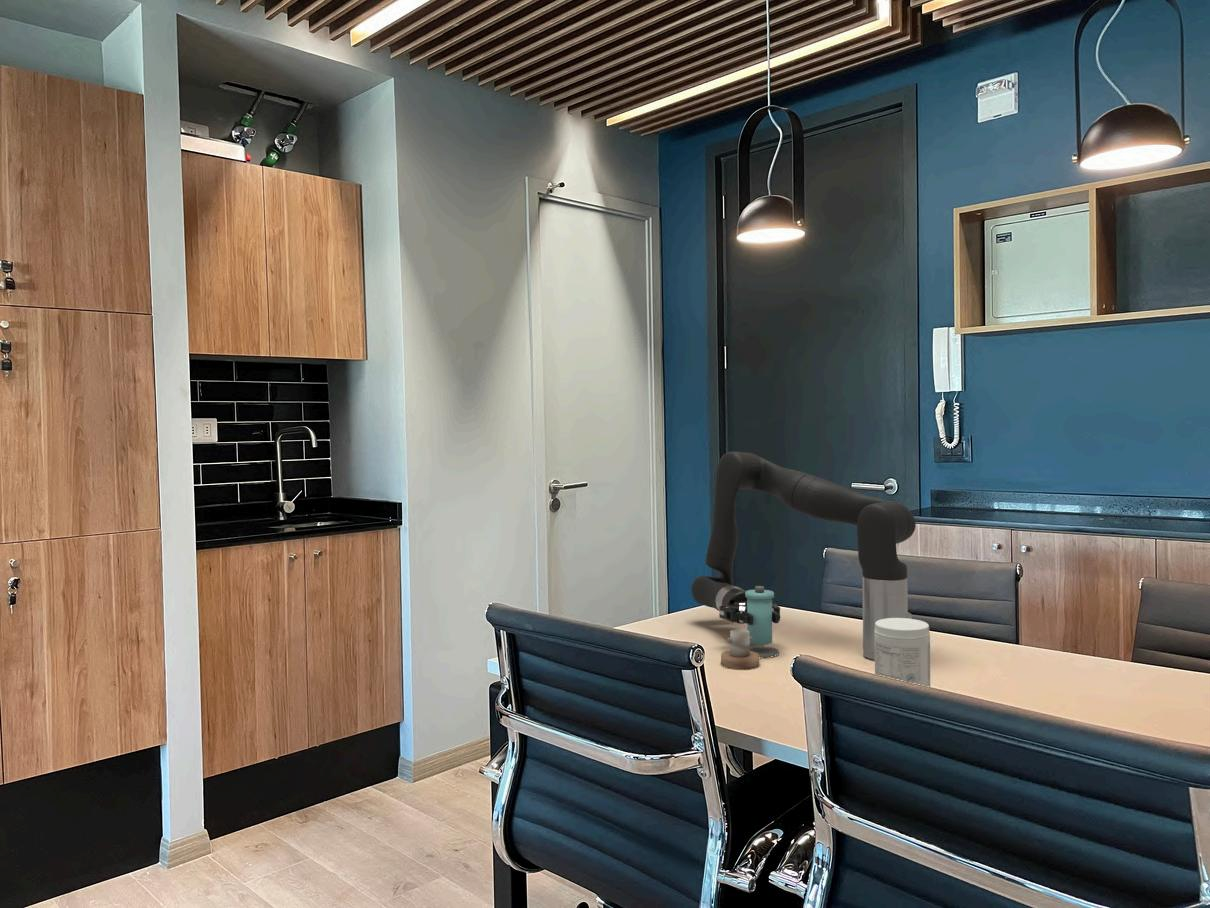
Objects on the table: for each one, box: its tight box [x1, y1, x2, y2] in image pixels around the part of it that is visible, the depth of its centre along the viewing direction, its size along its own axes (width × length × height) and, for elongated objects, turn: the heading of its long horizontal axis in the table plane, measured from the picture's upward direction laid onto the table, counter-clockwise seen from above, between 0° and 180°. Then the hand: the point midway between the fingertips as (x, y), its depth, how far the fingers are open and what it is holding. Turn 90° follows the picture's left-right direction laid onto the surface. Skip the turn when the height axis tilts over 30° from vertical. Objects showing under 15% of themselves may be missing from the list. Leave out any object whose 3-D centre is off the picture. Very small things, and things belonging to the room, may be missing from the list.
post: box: [720, 628, 760, 670], centre depth 191 cm, size 8×8×7 cm
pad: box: [750, 645, 780, 657], centre depth 199 cm, size 8×8×1 cm
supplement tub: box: [874, 618, 931, 688], centre depth 162 cm, size 10×10×15 cm
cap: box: [745, 585, 775, 646], centre depth 199 cm, size 6×6×12 cm
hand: (764, 619), depth 197 cm, fingers closed on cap, 5 cm apart
